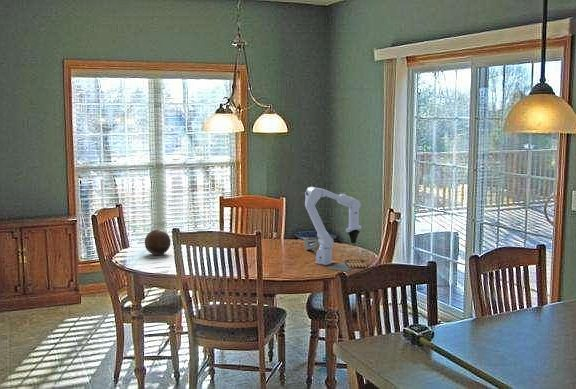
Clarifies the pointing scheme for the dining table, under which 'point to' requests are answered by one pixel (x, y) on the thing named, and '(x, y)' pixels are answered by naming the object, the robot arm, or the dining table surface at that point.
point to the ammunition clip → (355, 263)
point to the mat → (341, 267)
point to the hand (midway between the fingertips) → (353, 243)
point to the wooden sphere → (157, 242)
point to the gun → (312, 245)
